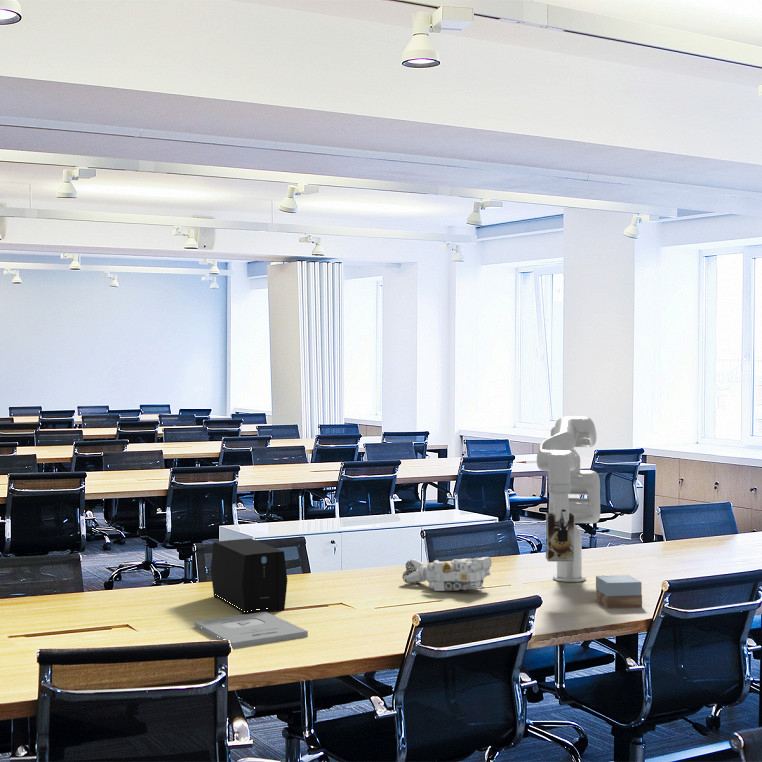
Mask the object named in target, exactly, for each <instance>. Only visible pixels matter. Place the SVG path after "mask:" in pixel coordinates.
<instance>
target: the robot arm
mask: <svg viewBox="0 0 762 762" xmlns="http://www.w3.org/2000/svg"><path fill="white" fill-rule="evenodd" d="M597 436H598V435H597V430H596V426H595V423H594V421H593V420H592V418H590V417H588V416H563V417H560V418H558V419H557V420H556V422H555V423H554V426H553V427H552V428H551V430H550V437H548V438H546V439H545V440H543V441H542V442H540V444H539V446H538V449H537V454H536V466H537V468H538V469H539V470H540V471H542V472H547V473H548V476H547V478H548V485H547V486H548V493H549V496H548V497H549V498H548V513H550V514H552V515H554V522H557V521H558V525H559V530H558V541H559V542H567V541H568V527H567V526H568V524H567V523H568V521H569V513H571V514H573V515H574V562H556V573H555V574H553V575H552V579H553V580H555V581H559V582H564V583H579V582H584V581H586V579H587V578H586V575H584V574H583V572H582V571H583V570H582V569H583V567H582V566H583V565H582V564H583V563H582V557H583V556H582V555H583V554H582V553H583V551H582V548H583V547H582V546H583V545H582V544H583V543H582V533H581V531H580V529H579V527H578V526H577V525H576V524H596V523H598V522H599V521H600V518H601V482H600V480H601V479H600V476H599V474H598V472H597V471H594V470H588V469H587V470H586V469H585V470H583V469H581V456H580V454H579V453H578V452H577V451H576V449H575V448H592V447H594V446H595V445H596V442H597ZM569 495H575V496H576V495H578V496H579V495H581V496H584V495H585V496H587V497H588V498H584V497H581V498H580V497H579V498H577V497H569ZM567 518H568V519H567ZM560 519H563V521H560ZM561 523H562V524H561Z"/></svg>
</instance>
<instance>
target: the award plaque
mask: <svg viewBox="0 0 762 762" xmlns="http://www.w3.org/2000/svg"><path fill="white" fill-rule="evenodd" d="M201 627H202V628H201ZM194 628H195V629H197V630H199V631H201V632H202V633H205V634H206V635H208V636H209V637H212V639H213V638H214V639H215V640H216V641H218V640H223V639H226V640H230V642H231V646H232V648H231V649H233V650H234V649H238V648H239V649H240V648H246V647H251V646H257V645H264V644H269V643H270V644H271V643H276V642H282V641H289V640H295V639H301V638H302V639H303V638H306V637H307V638H308V637H309V633H308V632H309V631H308V630H306V629H304V628H302V627H300V626H297V625H295V624H293V623H291V622H288V621H287V620H284V619H282V618H280V617H278V616H276V615H274V614H271V613H269V612H260V613H253V614H246V615H245V614H240V615H239V614H238V615H232V616H227V617H225V616H224V617H219V618H212V619H205V620H198V621H194ZM217 636H218V637H217ZM219 637H220V638H219Z"/></svg>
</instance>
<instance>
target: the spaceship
mask: <svg viewBox="0 0 762 762" xmlns="http://www.w3.org/2000/svg"><path fill="white" fill-rule="evenodd" d="M492 563H493V562H492V558H491V557H490V556H482V557H474V558H471V557H469V558H460V559H459V558H458V559H457V558H455V559H454V558H453V559H452V561H440V560H438V559H436V560H433V561H432V562H428V563H427V565H425V563H424V562H422V561H419V560H417V559H415V558H412V559H410V560H407V562H406V564H405V569H406V570H405V571H404V572H403V573H402V580H403V582H404V583H406V584H411V583H412V584H417V583H419V584H420V583H425V582H427V583H428V587H429V590H431V591H436V592H437V591H438V592H446V591H460V590H463V591H466V590H469V591H470V590H475V591H476V590H477V591H478V590H483V589H486V587H485V586H483V584H484V580H485V578H486V577H487V576H491V573H490V569H491V567H492Z"/></svg>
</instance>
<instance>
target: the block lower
mask: <svg viewBox="0 0 762 762" xmlns="http://www.w3.org/2000/svg"><path fill="white" fill-rule="evenodd" d="M595 590H596V593H595V594H596V595H595V596H596V598H595V599H596V602H598V603H600V604H601V605H602V606H604V607H605V608H607V609H628V608H629V609H632V608H635V609H637V608H638V609H639V608H643V595H633V596H606V595H605V594H603V593H602V592H600V591H599V590H597V589H596V588H595Z"/></svg>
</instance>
